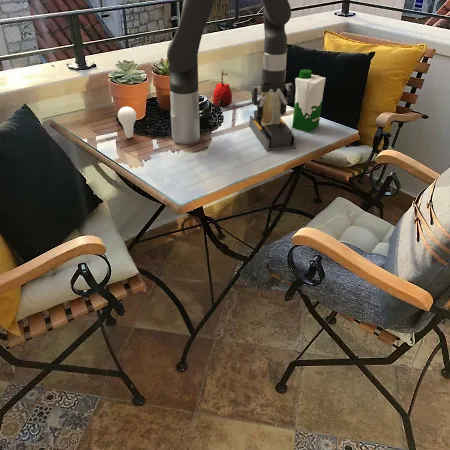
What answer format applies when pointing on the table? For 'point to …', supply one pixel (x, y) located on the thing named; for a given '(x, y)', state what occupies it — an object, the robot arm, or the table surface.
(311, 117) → the milk carton
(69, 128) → the table surface
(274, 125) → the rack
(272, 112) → the skincare box
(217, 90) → the red clay folk toy
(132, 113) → the lightbulb
